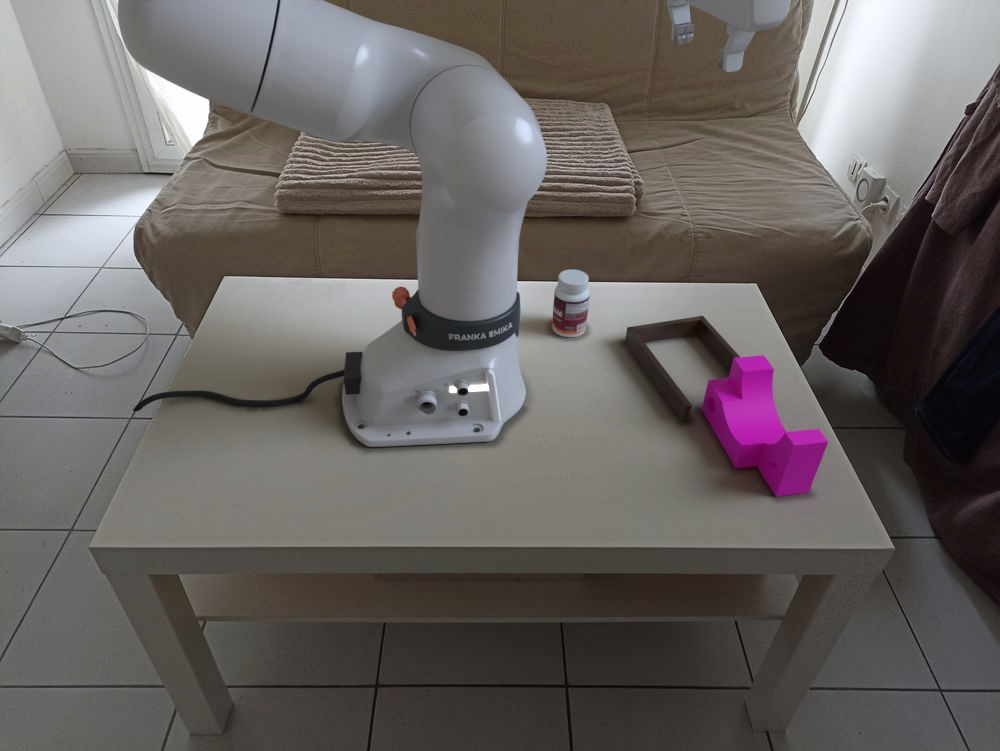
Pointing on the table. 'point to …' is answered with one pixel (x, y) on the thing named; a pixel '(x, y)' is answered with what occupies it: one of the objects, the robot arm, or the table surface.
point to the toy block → (761, 428)
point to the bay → (673, 330)
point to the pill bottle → (571, 303)
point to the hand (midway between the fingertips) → (704, 55)
